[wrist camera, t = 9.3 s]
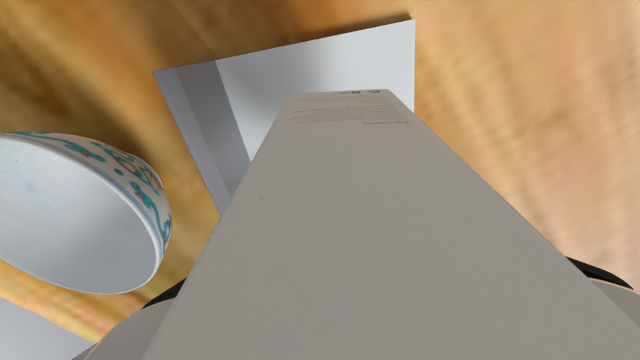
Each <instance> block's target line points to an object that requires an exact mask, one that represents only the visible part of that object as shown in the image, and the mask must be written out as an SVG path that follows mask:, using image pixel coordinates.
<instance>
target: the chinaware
mask: <svg viewBox="0 0 640 360" xmlns="http://www.w3.org/2000/svg"><path fill="white" fill-rule="evenodd" d="M170 233H171V210H170V205H169V201H168V198H167V196H166V193H165V191H164V189H163V185H162V182H161V179H160V177H159V176H158V174H157V173H156V171H155V170H154V169H153V168H152V167H151V166H150V165H149V164H148V163H146V162H145V161H144V160H142V159H141V158H139V157H137V156H135V155H133V154H130V153H127V152H124V151H122V150H120V149H118V148H116V147H114V146H111V145H109V144H106V143H103V142H100V141H97V140H94V139H90V138H86V137H82V136H77V135H71V134H64V133H54V132H10V133H0V258H1V259H2V260H4V261H5V262H7V263H9V264H10V265H12V266H14V267H16V268H18V269H19V270H21V271H23V272H25V273H27V274H29V275H31V276H34V277H36V278H38V279H41V280H43V281H46V282H48V283H51V284H54V285H57V286H60V287H63V288H67V289H71V290H75V291H80V292H85V293H93V294H119V293H125V292H129V291H132V290H135V289H137V288H139V287H141V286H143V285H144V284H146V283H147V282H148V281H149V280H150V279H151V278H152V277H153V276H154V274H155V272H156V271H157V269H158V267H159V265H160V263H161V261H162V259H163V256H164V254H165V251H166V249H167V246H168V242H169V238H170Z"/></svg>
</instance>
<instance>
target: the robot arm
mask: <svg viewBox="0 0 640 360" xmlns="http://www.w3.org/2000/svg"><path fill="white" fill-rule="evenodd" d="M565 257H566V256H565ZM566 258H567V259H568V260H569V261H570V262H571V263H572V264H574V265H575V266H576V267H577V268H578V269H579V270H580V271H581V272H582V273H583V274H584V275H585V276H586V277H587V278H589V279H590V280H591V281H592V282H593V283H594V284H595V285H596V286H597V287H598V288H599V289H600V290H601V291H602V292H604V293H605V294H606V295H607V296H608V297H609V298H610V299H611V300H612V301H613V302H614V303H615V304H616V305H617V306H619V307H620V308H621V309H622V310H623V311H624V312H625V313H626V314H627V315H628V316H629V317H630V318H631V319H632V320H633V321H634V322H635V323H636V324H637V325H638V326H639V327H640V293H639V292H636V291H634V290H633V288H632V287H631V286H629V285H628V284H627V283H626V282H625V281H624V280H622V279H620V278H619V277H617V276H615V275H614V274H612V273H609V272H607V271H605V270H602V269H600V268H597V267H594V266H591V265H589V264H586V263H583V262H580V261H577V260H575V259H572V258H569V257H566ZM186 279H187V278H185V279H184V280H182V281H181V282H179V283H177V284H176V285H174V286H173V287H171V288H170V289H168V290H167V291H165V292H163V293H162V294H160V295H159V296H157V297H156V298H154V299H153V300H151V301H150V302H148V303H147V304H146V305H145V306H144V307H143V308H142V309H141V310H139V311H137V312H135V313H133V314H131V315H130V316H128V317H126V318H125V319H123V320H122V321H120V322H119V323H118V324H116V325H115V326H114V327H113V328H112V329H111V330H110V331H109V332H108V333H107V334H106V335H105V336H104V337H103V338H102V339H101V340H100V341H99V342H97V343H96V344H94V345H93V346H91V347H90V348H88V349H87V350H85V351H84V352H83V353H81V354H79V355H78V356H76V357H75V358H74V359H72V360H141V359H142V357H143V355H144V353H145V352H146V350H147V348H148V346H149V344H150V343H151V341H152V339H153V337H154V335H155V334H156V332H157V330H158V328H159V327H160V325H161V323H162V321H163V319H164V318H165V316H166V314H167V312H168V311H169V309H170V307H171V305H172V303H173V302H174V300H175V298H176V296H177V295H178V293H179V291H180V289H181V287H182V286H183V284H184V282H185V280H186Z"/></svg>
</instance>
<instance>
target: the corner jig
mask: <svg viewBox="0 0 640 360" xmlns="http://www.w3.org/2000/svg"><path fill="white" fill-rule="evenodd" d="M414 65H415V19H413V20H408V21H403V22H398V23H393V24H388V25H384V26H379V27H374V28H369V29H364V30H359V31H354V32H350V33H345V34H340V35H335V36H330V37H325V38H321V39H316V40H311V41H306V42H301V43H296V44H291V45H287V46H282V47H277V48H272V49H267V50H262V51H257V52H253V53H248V54H243V55H238V56H233V57H228V58H224V59H219V60H214V61H207V62H201V63H195V64H189V65H183V66H177V67H171V68H167V69H162V70H157V71H152V73H153V75H154V78H155V80H156V82H157V84H158V86H159V88H160V90H161V92H162V94H163V96H164V99H165V101H166V103H167V105H168V107H169V109H170V111H171V113H172V115H173V118H174V120H175V122H176V124H177V126H178V128H179V130H180V132H181V134H182V136H183V139H184V141H185V143H186V145H187V147H188V149H189V151H190V153H191V155H192V158H193V160H194V162H195V164H196V166H197V168H198V170H199V172H200V174H201V176H202V179H203V181H204V183H205V185H206V187H207V189H208V191H209V193H210V195H211V197H212V200H213V202H214V204H215V206H216V208H217V210H218V212H219V214H220V216H222V214H223V212H224V210H225V208H226V206H227V205H228V203H229V201H230V199H231V197H232V196H233V194H234V192H235V190H236V188H237V187H238V185H239V183H240V181H241V180H242V178H243V176H244V174H245V172H246V170H247V168H248V167H249V165H250V164H251V162H252V160H253V158H254V156H255V154H256V153H257V151H258V149H259V147H260V145H261V144H262V142H263V140H264V138H265V136H266V135H267V133H268V131H269V129H270V128H271V126H272V124H273V122H274V121H275V119H276V117H277V115H278V114H279V112H280V110H281V108H282V106H283V104H284V103H285V101H286V99H287V97H288V96H289V94H292V93H310V92H329V91H348V90H371V89H389V90H390V91H391V92H392V93H393V94H394V95H395V96H396V97H397V98H399V99H400V100H401V101H402V102H403V103H404V104H405V105H406V106H407V107H408V108H409V109H410V110H411V111H412V112H413V113H414Z"/></svg>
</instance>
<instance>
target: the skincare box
mask: <svg viewBox="0 0 640 360" xmlns="http://www.w3.org/2000/svg"><path fill="white" fill-rule="evenodd" d="M141 360H640V327H639V326H638V325H637V324H636V323H635V322H634V321H633V320H632V319H631V318H630V317H629V316H628V315H627V314H626V313H625V312H624V311H623V310H622V309H621V308H620V307H619V306H617V305H616V304H615V303H614V302H613V301H612V300H611V299H610V298H609V297H608V296H607V295H606V294H605V293H604V292H602V291H601V290H600V289H599V288H598V287H597V286H596V285H595V284H594V283H593V282H592V281H591V280H590V279H589V278H587V277H586V276H585V275H584V274H583V273H582V272H581V271H580V270H579V269H578V268H577V267H576V266H575V265H574V264H572V263H571V262H570V261H569V260H568V259H567V258H566V257H565V256H564V255H563V254H562V253H561V252H560V251H559V250H558V249H557V248H556V247H555V246H553V245H552V244H551V243H550V242H549V241H548V240H547V239H546V238H545V237H544V236H543V235H542V234H541V233H540V232H539V231H538V230H537V229H536V228H534V227H533V226H532V225H531V224H530V223H529V222H528V221H527V220H526V219H525V218H524V217H523V216H522V215H521V214H520V213H519V212H518V211H517V210H516V209H514V208H513V207H512V206H511V205H510V204H509V203H508V202H507V201H506V200H505V199H504V198H503V197H502V196H501V195H500V194H499V193H498V192H496V191H495V190H494V189H493V188H492V187H491V186H490V185H489V184H488V183H487V182H486V181H485V180H484V179H483V178H482V177H481V176H479V175H478V174H477V173H476V172H475V171H474V170H473V169H472V168H471V167H470V166H469V165H468V164H467V163H466V162H465V161H464V160H463V159H462V158H461V157H459V156H458V155H457V154H456V153H455V152H454V151H453V150H452V149H451V148H450V147H449V146H448V145H447V144H446V143H445V142H444V141H442V140H441V139H440V138H439V137H438V136H437V135H436V134H435V133H434V132H433V131H432V130H431V129H430V128H429V127H428V126H427V125H426V124H424V123H423V122H422V121H421V120H420V119H419V118H418V117H417V116H416V115H415V114H414V113H413V112H412V111H411V110H410V109H409V108H408V107H407V106H406V105H405V104H404V103H403V102H402V101H401V100H400V99H399V98H397V97H396V96H395V95H394V94H393V93H392V92H391V91H390V90H389V89H371V90H348V91H329V92H310V93H292V94H289V96H288V97H287V99H286V101H285V103H284V104H283V106H282V108H281V110H280V112H279V114H278V115H277V117H276V119H275V121H274V122H273V124H272V126H271V128H270V129H269V131H268V133H267V135H266V136H265V138H264V140H263V142H262V144H261V145H260V147H259V149H258V151H257V153H256V154H255V156H254V158H253V160H252V162H251V164H250V165H249V167H248V168H247V170H246V172H245V174H244V176H243V178H242V180H241V181H240V183H239V185H238V187H237V188H236V190H235V192H234V194H233V196H232V197H231V199H230V201H229V203H228V205H227V206H226V208H225V210H224V212H223V214H222V216H221V217H220V219H219V221H218V223H217V225H216V227H215V228H214V230H213V232H212V234H211V236H210V237H209V239H208V241H207V243H206V245H205V246H204V248H203V250H202V252H201V254H200V255H199V257H198V259H197V261H196V263H195V264H194V266H193V268H192V270H191V271H190V273H189V275H188V277H187V279H186V280H185V282H184V284H183V286H182V287H181V289H180V291H179V293H178V295H177V296H176V298H175V300H174V302H173V303H172V305H171V307H170V309H169V311H168V312H167V314H166V316H165V318H164V319H163V321H162V323H161V325H160V327H159V328H158V330H157V332H156V334H155V335H154V337H153V339H152V341H151V343H150V344H149V346H148V348H147V350H146V352H145V353H144V355H143V357H142V359H141Z"/></svg>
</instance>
